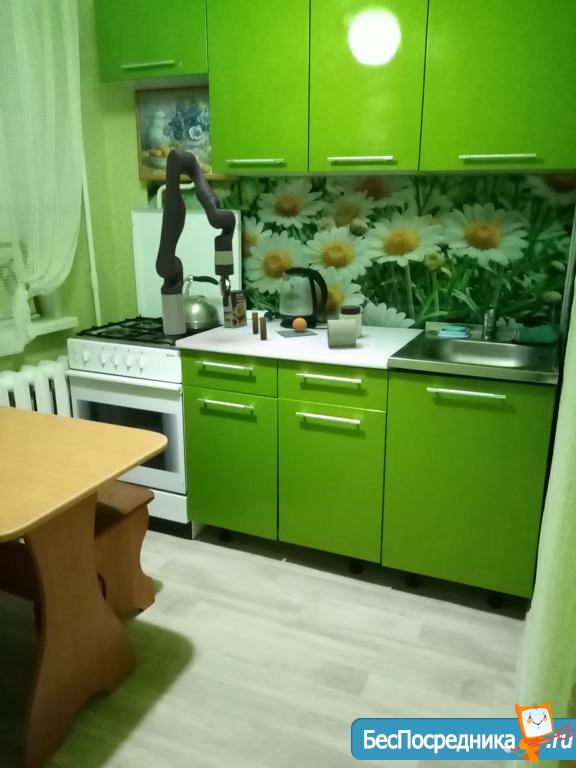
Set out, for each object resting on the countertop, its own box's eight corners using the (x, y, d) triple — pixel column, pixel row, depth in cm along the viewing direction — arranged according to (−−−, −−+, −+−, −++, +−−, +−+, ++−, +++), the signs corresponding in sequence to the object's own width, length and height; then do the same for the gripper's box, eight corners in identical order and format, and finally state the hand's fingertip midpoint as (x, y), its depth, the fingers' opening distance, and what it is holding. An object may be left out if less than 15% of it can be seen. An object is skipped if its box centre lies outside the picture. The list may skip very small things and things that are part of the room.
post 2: (261, 340, 239) (260, 318, 236) (259, 339, 241) (258, 317, 239) (267, 339, 239) (266, 317, 237) (266, 338, 242) (265, 316, 239)
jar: (342, 339, 236) (341, 309, 233) (337, 335, 244) (337, 306, 241) (363, 337, 237) (364, 307, 234) (358, 333, 245) (358, 304, 242)
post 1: (253, 334, 251) (252, 313, 248) (252, 333, 253) (251, 312, 251) (259, 334, 251) (258, 312, 249) (258, 332, 254) (257, 312, 251)
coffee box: (234, 328, 266) (232, 292, 261) (223, 327, 269) (221, 291, 265) (247, 325, 273) (246, 289, 268) (237, 324, 276) (235, 289, 272)
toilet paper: (353, 342, 229) (353, 317, 226) (356, 348, 219) (356, 321, 217) (327, 343, 229) (327, 318, 226) (329, 349, 219) (328, 322, 217)
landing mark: (285, 337, 242) (285, 337, 242) (275, 331, 255) (275, 331, 255) (317, 334, 246) (317, 334, 246) (306, 328, 259) (306, 328, 259)
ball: (308, 332, 251) (295, 333, 249) (303, 330, 256) (290, 331, 254) (309, 318, 249) (295, 319, 247) (303, 316, 255) (290, 317, 253)
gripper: (211, 261, 239) (213, 304, 244) (217, 264, 227) (219, 309, 232) (230, 261, 241) (231, 303, 246) (236, 263, 229) (238, 308, 234)
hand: (225, 306), depth 239 cm, fingers closed
